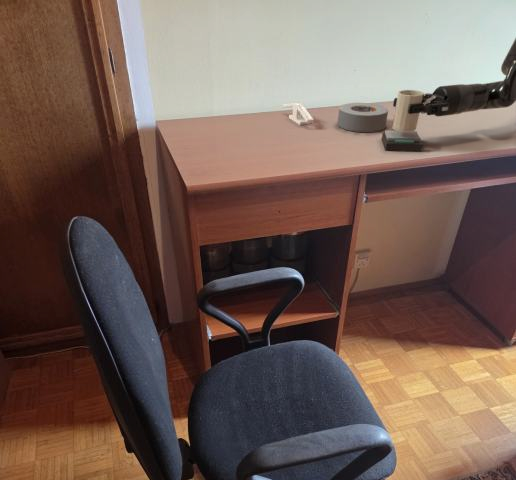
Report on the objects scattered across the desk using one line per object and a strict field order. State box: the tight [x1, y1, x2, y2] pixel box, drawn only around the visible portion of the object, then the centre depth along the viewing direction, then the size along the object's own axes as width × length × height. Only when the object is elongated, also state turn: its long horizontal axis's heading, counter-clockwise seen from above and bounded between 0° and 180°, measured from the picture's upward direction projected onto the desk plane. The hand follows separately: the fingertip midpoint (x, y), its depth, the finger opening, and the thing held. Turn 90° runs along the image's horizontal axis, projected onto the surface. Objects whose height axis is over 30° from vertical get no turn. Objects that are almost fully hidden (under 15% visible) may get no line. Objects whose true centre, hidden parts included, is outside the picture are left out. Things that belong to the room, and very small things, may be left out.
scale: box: [381, 129, 424, 153], centre depth 129 cm, size 10×10×3 cm
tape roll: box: [337, 102, 389, 133], centre depth 144 cm, size 15×15×5 cm
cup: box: [391, 89, 425, 132], centre depth 124 cm, size 7×7×9 cm
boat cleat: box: [282, 102, 315, 126], centre depth 148 cm, size 4×20×5 cm, turn 20°
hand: (401, 105), depth 123 cm, fingers closed on cup, 6 cm apart
